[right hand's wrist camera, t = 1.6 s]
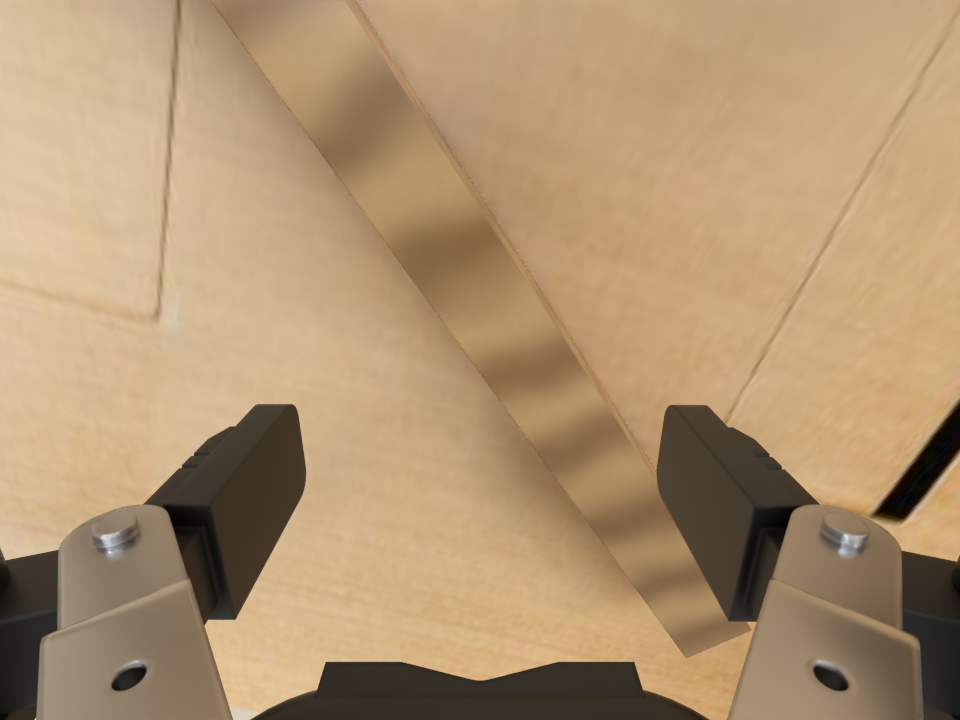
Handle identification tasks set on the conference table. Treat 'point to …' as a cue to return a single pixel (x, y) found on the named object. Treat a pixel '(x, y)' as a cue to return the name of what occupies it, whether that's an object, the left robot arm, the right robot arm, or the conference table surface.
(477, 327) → the beam
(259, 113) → the conference table surface
